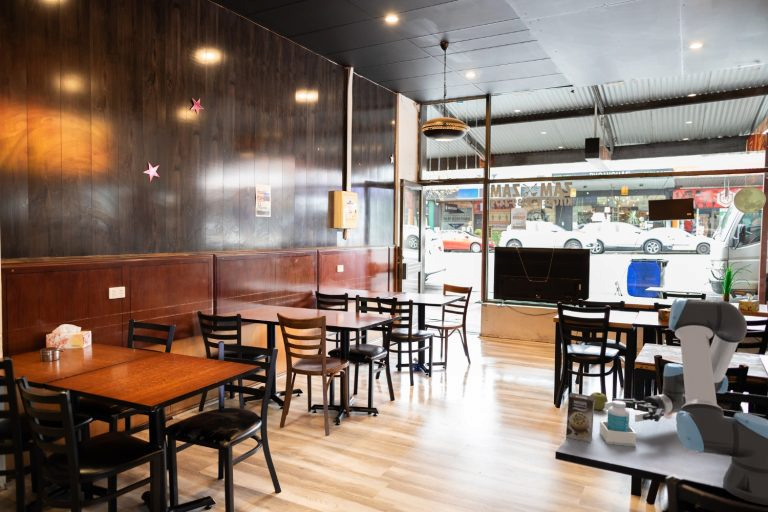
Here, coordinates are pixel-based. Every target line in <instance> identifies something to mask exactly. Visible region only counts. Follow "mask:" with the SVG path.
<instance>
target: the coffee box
mask: <svg viewBox="0 0 768 512" xmlns="http://www.w3.org/2000/svg"><path fill="white" fill-rule="evenodd" d="M594 402H595V397H593V396H590V395H588V394H587V395H586V394H582V393H574V392H570V393H569V395H568V398H567V415H566V416H567V418H566V434H565V438H567V437H568V438H567V439H572V440H575V441H576V440H577V441H581V442H587V443H591V442H592V440H593V431H594V430H593V429H594V415H595V409H594Z"/></svg>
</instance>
